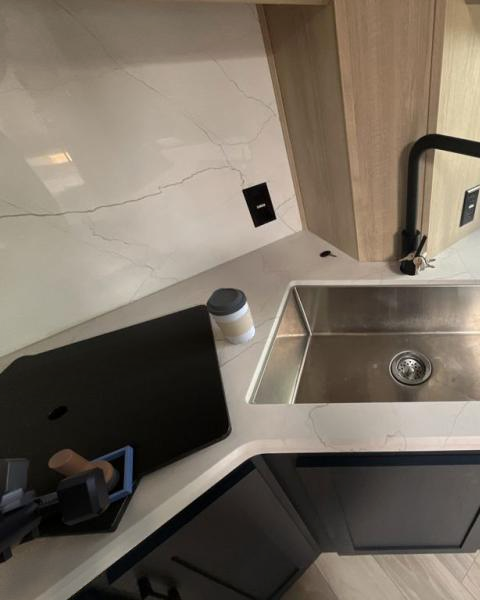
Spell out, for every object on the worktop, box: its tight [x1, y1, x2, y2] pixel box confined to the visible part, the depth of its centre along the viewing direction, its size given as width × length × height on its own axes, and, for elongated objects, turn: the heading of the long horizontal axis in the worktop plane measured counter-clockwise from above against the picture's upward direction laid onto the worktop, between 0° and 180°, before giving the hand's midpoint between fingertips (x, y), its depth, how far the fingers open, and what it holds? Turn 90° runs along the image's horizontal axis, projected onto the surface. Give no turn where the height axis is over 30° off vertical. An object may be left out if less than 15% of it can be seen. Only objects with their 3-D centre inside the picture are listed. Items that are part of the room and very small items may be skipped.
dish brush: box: [48, 448, 121, 494], centre depth 56 cm, size 6×6×12 cm
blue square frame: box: [61, 445, 134, 521], centre depth 59 cm, size 9×9×2 cm
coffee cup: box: [205, 287, 256, 345], centre depth 83 cm, size 9×9×15 cm
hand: (64, 487), depth 51 cm, fingers open, 9 cm apart
